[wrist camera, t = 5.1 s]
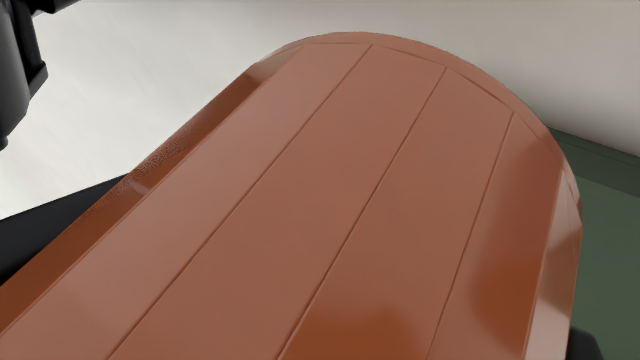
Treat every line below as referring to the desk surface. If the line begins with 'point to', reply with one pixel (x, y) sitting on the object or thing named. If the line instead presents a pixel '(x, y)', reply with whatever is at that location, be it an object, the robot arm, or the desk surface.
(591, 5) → the desk surface
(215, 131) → the large cup
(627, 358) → the tray
